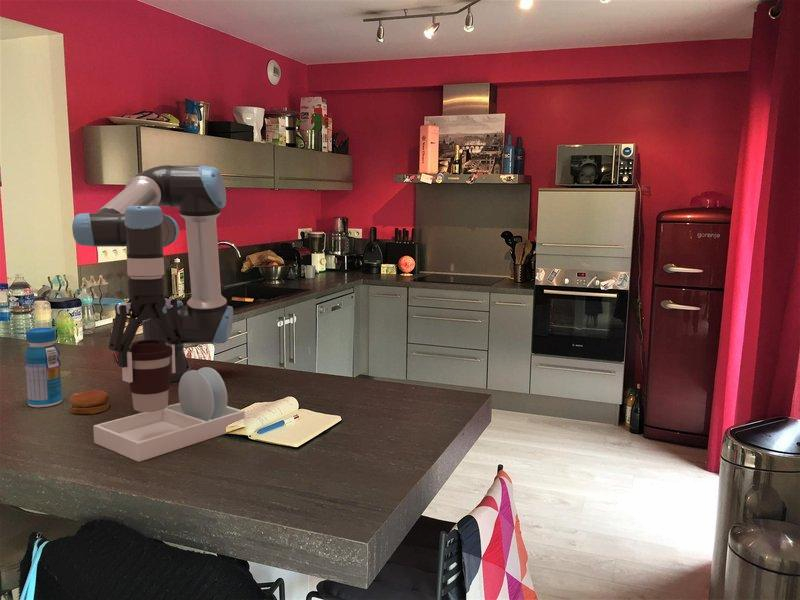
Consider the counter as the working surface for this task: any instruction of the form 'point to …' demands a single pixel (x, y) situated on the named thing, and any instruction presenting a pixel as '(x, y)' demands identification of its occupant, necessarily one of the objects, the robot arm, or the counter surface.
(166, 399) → the coffee cup
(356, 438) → the counter surface
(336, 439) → the counter surface
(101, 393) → the burger
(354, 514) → the counter surface
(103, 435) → the white tray
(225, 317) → the robot arm
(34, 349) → the beverage bottle
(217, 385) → the plates
